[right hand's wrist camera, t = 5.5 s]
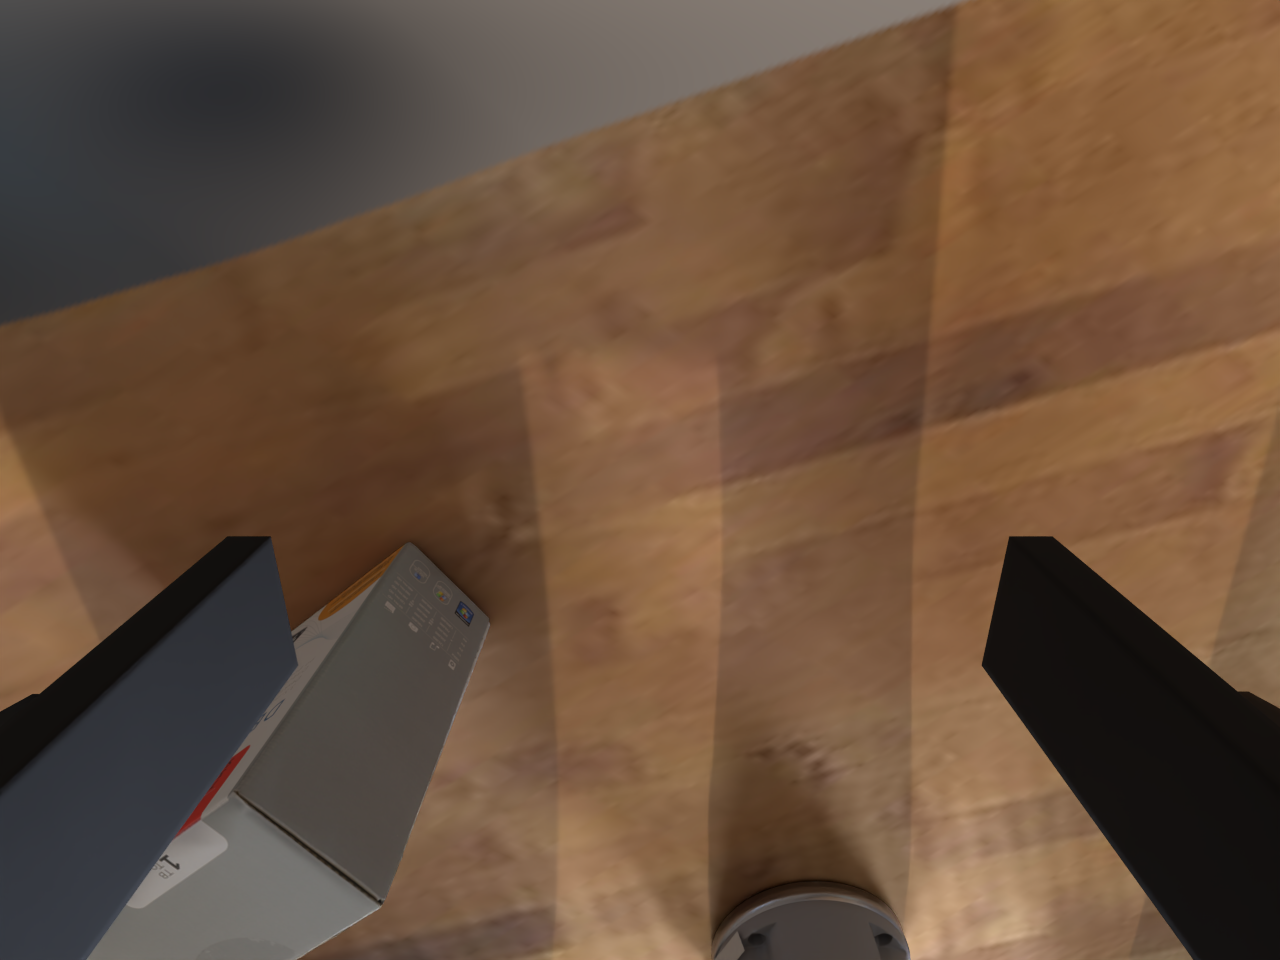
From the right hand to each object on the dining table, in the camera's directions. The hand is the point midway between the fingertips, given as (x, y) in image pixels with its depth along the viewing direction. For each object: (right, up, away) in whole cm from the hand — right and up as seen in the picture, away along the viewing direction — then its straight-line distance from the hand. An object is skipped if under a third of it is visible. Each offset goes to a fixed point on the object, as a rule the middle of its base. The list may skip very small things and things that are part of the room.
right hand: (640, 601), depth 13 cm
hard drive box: (-18, -8, +34) cm, 39 cm away
